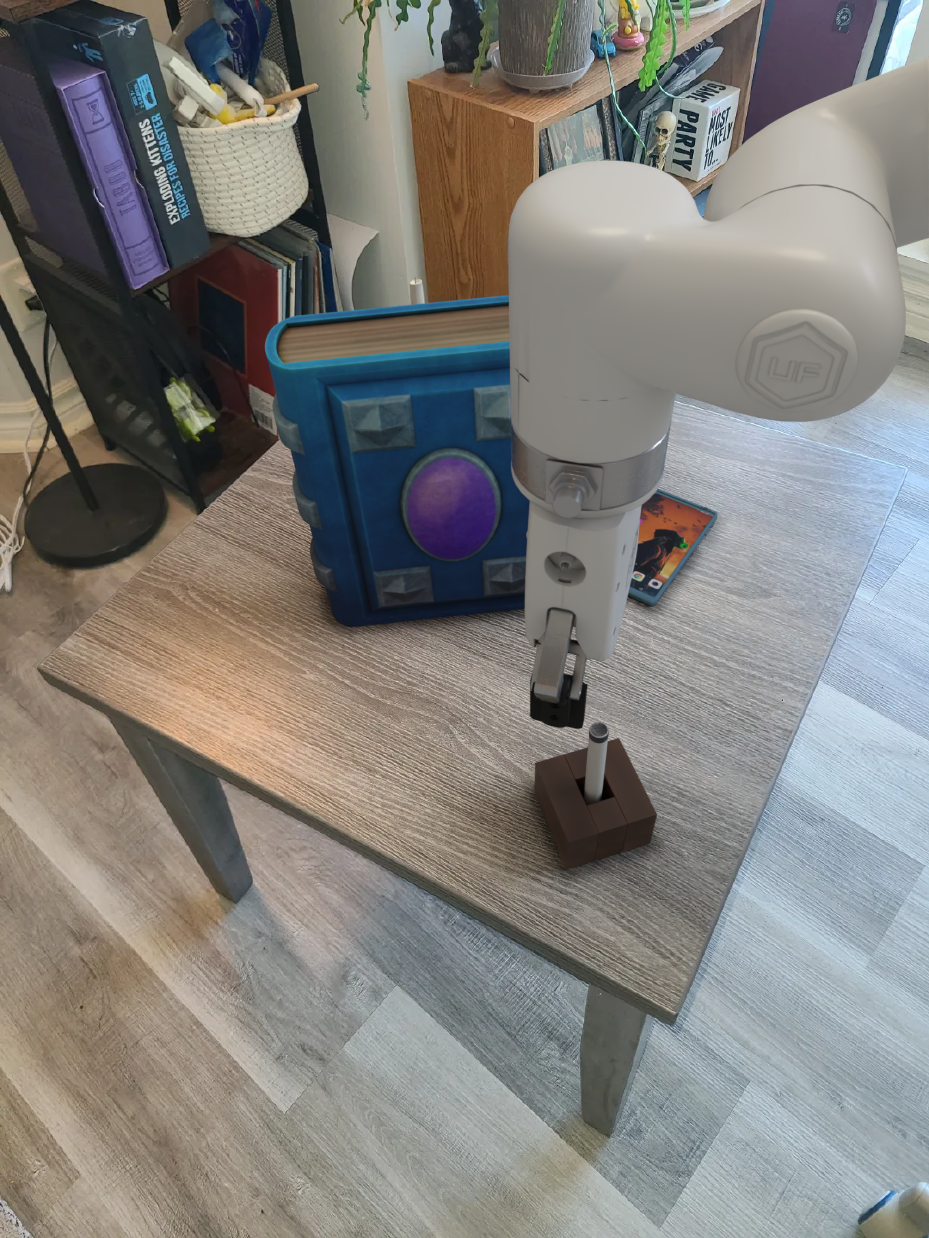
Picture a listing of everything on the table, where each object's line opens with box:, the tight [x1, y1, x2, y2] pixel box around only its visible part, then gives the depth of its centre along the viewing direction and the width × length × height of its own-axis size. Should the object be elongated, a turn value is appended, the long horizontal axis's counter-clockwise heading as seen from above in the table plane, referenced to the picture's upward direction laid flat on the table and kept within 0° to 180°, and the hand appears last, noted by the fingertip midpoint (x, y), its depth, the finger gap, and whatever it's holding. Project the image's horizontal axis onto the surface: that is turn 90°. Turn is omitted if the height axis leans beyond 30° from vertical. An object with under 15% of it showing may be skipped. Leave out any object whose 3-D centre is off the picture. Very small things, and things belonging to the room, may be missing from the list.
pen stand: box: [533, 737, 658, 871], centre depth 73 cm, size 7×7×5 cm
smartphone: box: [628, 488, 719, 607], centre depth 94 cm, size 8×1×15 cm
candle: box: [409, 276, 426, 305], centre depth 108 cm, size 5×5×16 cm
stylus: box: [584, 721, 610, 806], centre depth 70 cm, size 1×1×13 cm
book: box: [264, 294, 530, 628], centre depth 80 cm, size 24×9×30 cm, turn 95°
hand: (573, 657), depth 57 cm, fingers open, 9 cm apart
